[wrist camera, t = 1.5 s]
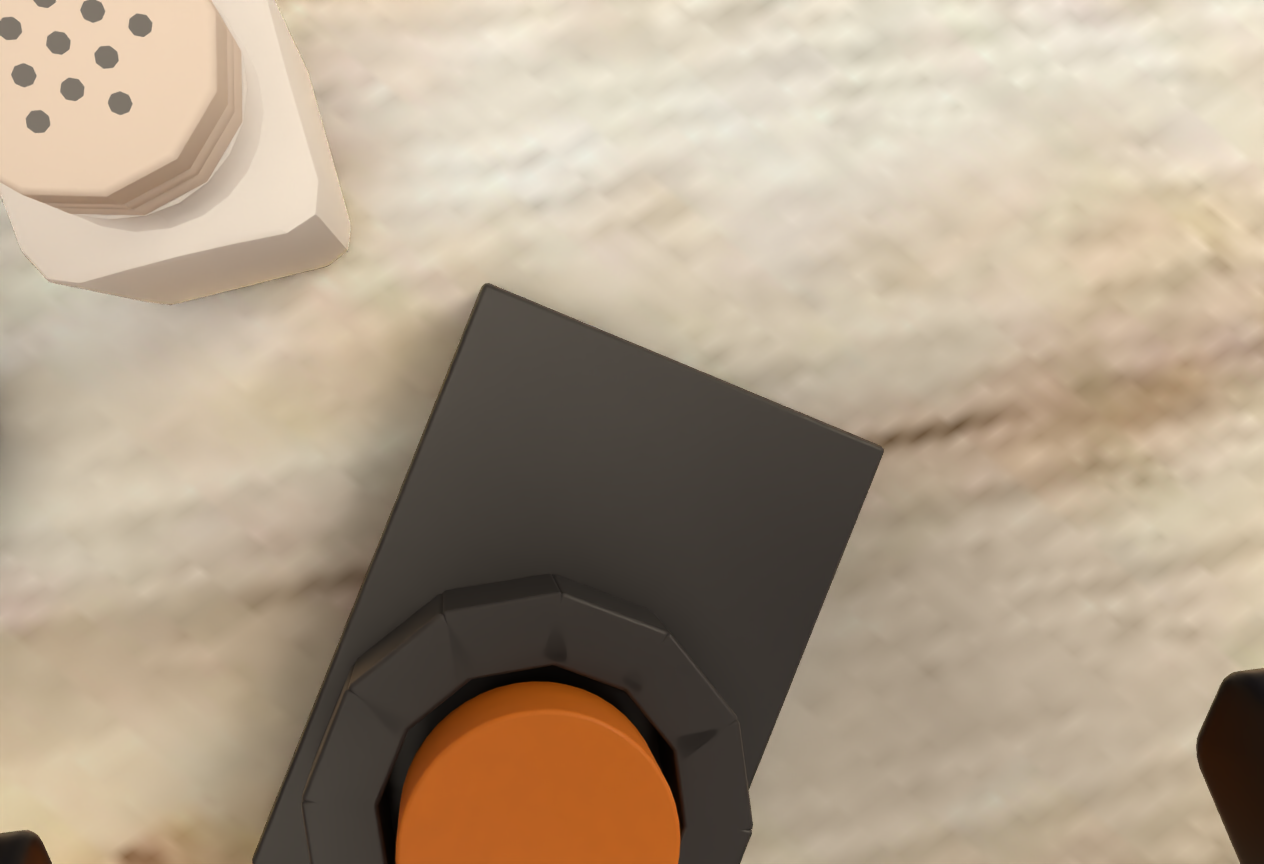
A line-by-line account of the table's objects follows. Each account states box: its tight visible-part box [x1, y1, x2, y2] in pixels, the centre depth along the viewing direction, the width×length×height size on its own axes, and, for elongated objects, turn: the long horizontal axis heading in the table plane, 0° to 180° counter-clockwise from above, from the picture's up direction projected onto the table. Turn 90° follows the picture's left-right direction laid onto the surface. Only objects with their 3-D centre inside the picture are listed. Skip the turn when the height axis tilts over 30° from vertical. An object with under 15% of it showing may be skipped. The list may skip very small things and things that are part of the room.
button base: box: [252, 283, 884, 864], centre depth 22 cm, size 12×8×4 cm
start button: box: [395, 681, 680, 864], centre depth 19 cm, size 4×4×2 cm
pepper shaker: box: [0, 0, 351, 305], centre depth 17 cm, size 4×4×10 cm
